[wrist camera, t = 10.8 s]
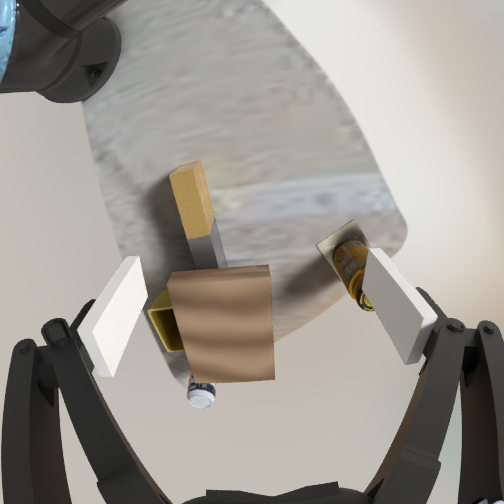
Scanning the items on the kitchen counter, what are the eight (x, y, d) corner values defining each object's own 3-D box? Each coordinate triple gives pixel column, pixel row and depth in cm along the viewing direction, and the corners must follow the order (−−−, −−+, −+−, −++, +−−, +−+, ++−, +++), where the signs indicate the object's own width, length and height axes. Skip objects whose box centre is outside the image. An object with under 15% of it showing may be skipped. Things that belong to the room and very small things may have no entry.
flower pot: (176, 319, 51) (167, 354, 43) (160, 278, 47) (145, 310, 39) (223, 311, 51) (221, 347, 42) (210, 268, 47) (204, 301, 39)
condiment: (341, 280, 49) (364, 325, 38) (316, 244, 46) (337, 285, 35) (376, 256, 47) (407, 296, 36) (354, 218, 44) (386, 252, 33)
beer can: (209, 342, 54) (203, 391, 43) (222, 357, 56) (220, 405, 45) (189, 350, 55) (180, 398, 44) (203, 364, 56) (197, 412, 46)
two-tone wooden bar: (180, 165, 40) (168, 175, 33) (200, 160, 39) (192, 169, 33) (224, 318, 51) (222, 345, 45) (241, 315, 51) (241, 342, 45)
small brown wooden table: (184, 241, 45) (166, 284, 33) (263, 234, 44) (270, 277, 33) (203, 331, 52) (195, 383, 41) (268, 326, 52) (274, 379, 41)
